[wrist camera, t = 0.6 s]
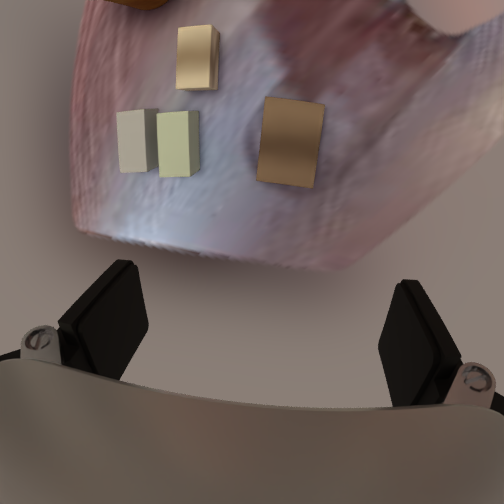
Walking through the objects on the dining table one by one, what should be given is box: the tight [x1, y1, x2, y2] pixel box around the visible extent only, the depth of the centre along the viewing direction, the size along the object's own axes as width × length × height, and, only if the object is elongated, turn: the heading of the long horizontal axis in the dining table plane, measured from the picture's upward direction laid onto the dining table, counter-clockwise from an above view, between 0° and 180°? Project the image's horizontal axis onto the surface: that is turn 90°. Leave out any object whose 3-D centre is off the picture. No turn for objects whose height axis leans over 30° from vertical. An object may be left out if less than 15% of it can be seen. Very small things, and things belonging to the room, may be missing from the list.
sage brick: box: [157, 111, 200, 177], centre depth 32 cm, size 7×4×4 cm, turn 179°
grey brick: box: [117, 109, 159, 173], centre depth 32 cm, size 7×4×4 cm, turn 179°
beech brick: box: [176, 25, 220, 91], centre depth 28 cm, size 7×4×4 cm, turn 178°
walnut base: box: [256, 97, 325, 189], centre depth 31 cm, size 9×6×3 cm, turn 174°
